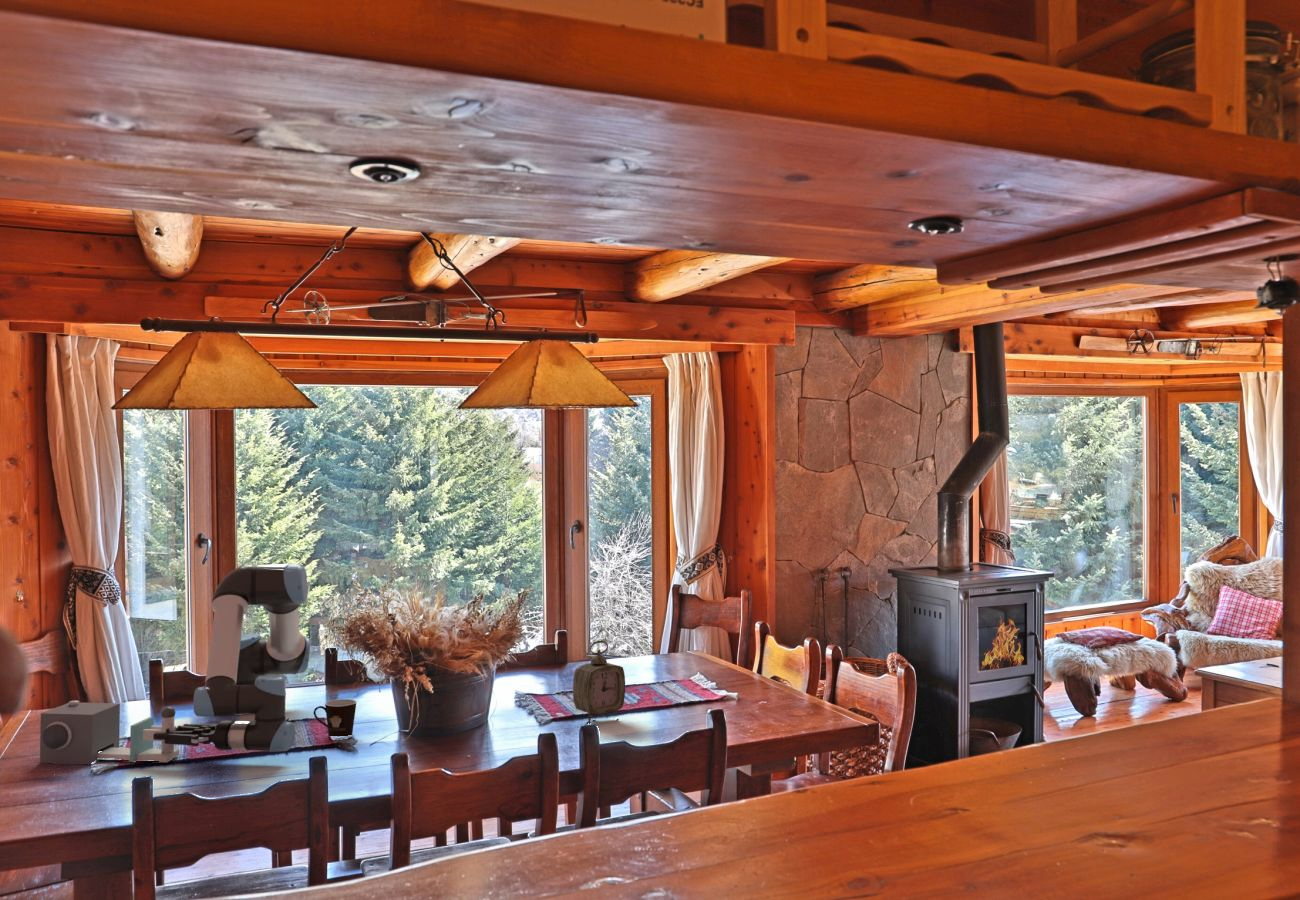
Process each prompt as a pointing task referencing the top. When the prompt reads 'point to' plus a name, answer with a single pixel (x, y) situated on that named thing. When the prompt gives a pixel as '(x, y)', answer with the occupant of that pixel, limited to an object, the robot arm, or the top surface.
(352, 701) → the coffee mug
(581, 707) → the tabletop clock
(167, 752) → the battery sled
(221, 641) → the robot arm
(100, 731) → the camera body
